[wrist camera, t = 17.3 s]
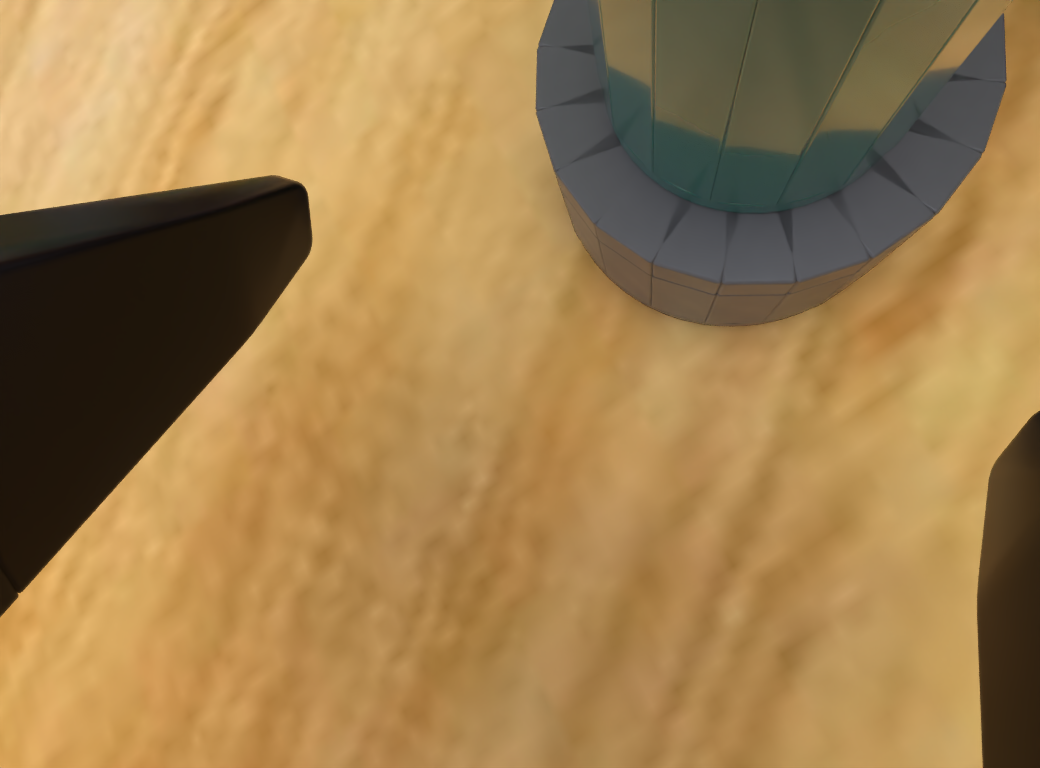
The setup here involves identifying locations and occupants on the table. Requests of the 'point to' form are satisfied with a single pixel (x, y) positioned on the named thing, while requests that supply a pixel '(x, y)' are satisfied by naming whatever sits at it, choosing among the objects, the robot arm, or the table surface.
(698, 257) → the grey pot
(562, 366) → the table surface
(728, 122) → the green cup
